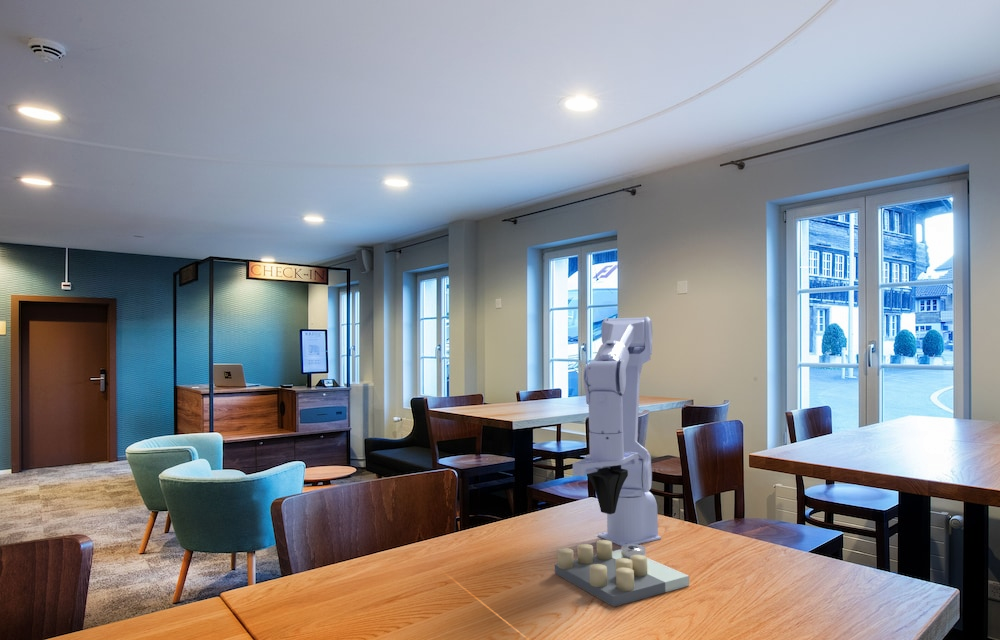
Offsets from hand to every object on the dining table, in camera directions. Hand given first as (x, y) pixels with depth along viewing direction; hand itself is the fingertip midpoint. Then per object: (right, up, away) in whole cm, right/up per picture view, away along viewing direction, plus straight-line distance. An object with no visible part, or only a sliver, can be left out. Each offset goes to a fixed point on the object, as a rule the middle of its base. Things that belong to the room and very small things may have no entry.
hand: (608, 512), depth 103 cm
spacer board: (+1, -9, -5) cm, 10 cm away
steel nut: (+4, -8, -1) cm, 9 cm away
